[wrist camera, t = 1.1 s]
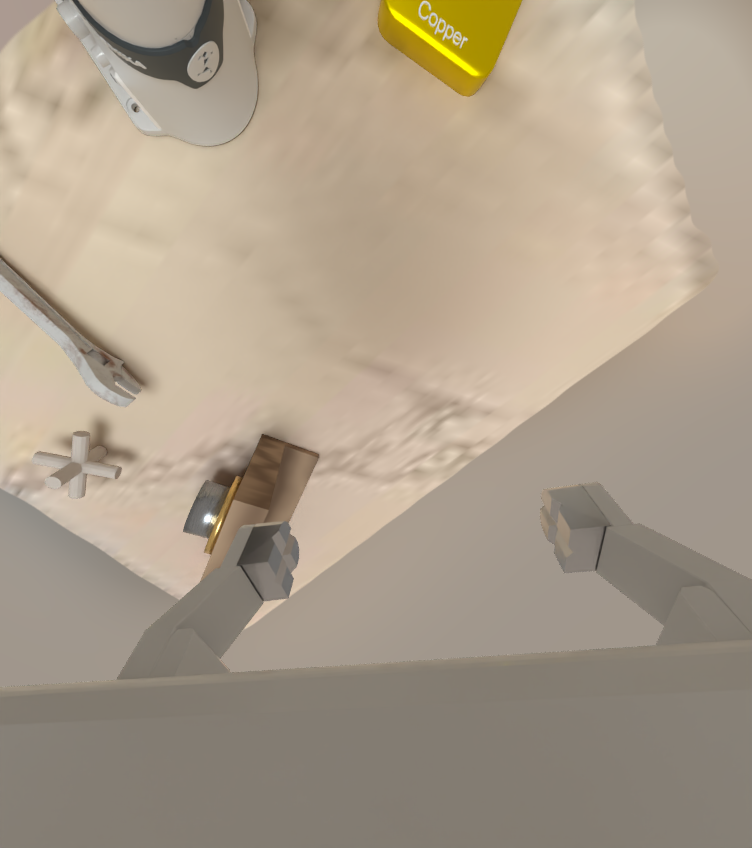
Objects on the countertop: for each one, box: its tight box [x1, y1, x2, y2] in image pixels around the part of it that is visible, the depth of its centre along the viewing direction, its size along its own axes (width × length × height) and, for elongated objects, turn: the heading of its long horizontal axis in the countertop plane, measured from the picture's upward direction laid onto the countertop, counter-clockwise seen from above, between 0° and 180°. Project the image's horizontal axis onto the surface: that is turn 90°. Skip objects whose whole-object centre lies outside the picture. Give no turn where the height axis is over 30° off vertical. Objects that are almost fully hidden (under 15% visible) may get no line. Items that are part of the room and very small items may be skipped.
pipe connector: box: [32, 431, 122, 499], centre depth 47 cm, size 10×10×10 cm
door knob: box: [183, 476, 243, 554], centre depth 51 cm, size 5×12×12 cm, turn 154°
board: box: [200, 434, 319, 582], centre depth 50 cm, size 10×24×20 cm, turn 154°
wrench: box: [0, 258, 141, 407], centre depth 42 cm, size 8×2×30 cm
